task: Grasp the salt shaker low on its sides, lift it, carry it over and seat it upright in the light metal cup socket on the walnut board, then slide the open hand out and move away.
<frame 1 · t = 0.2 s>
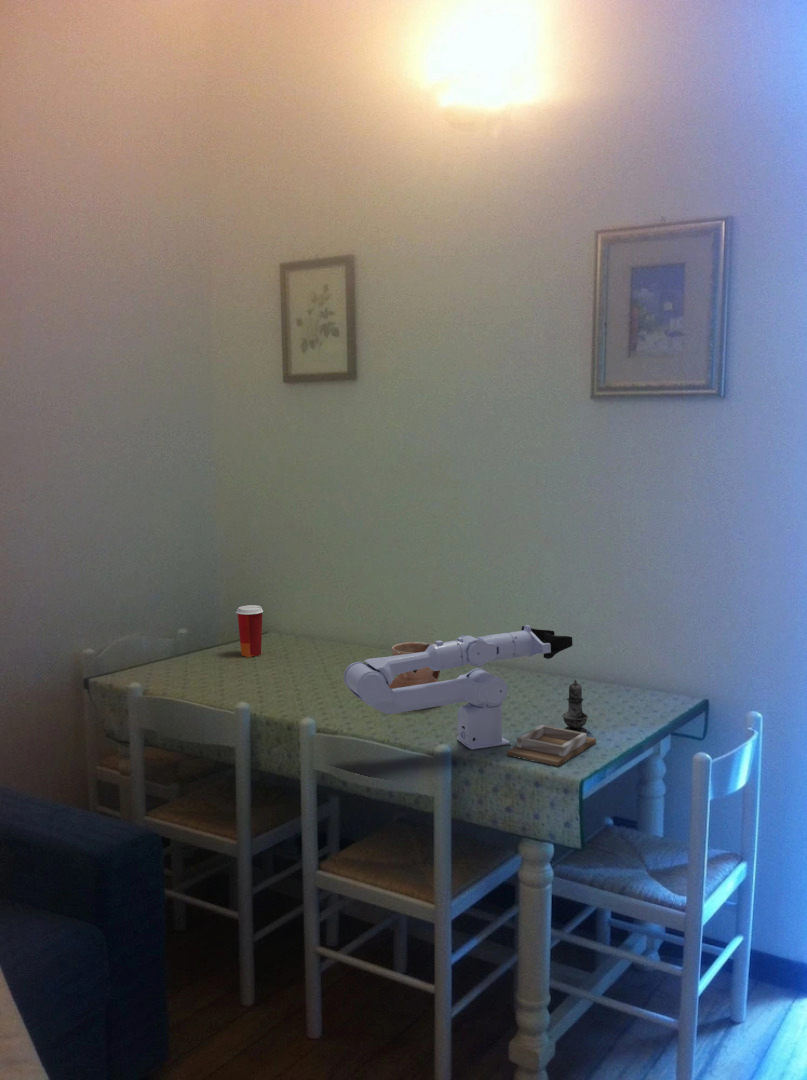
hand: (562, 638, 218), 21 cm above the table, tool horizontal, fingers open, 7 cm apart
ceramic jug: (417, 701, 246), on the table
salt shaker: (575, 731, 220), on the table
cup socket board: (552, 749, 208), on the table
coffee cup: (251, 655, 298), on the table
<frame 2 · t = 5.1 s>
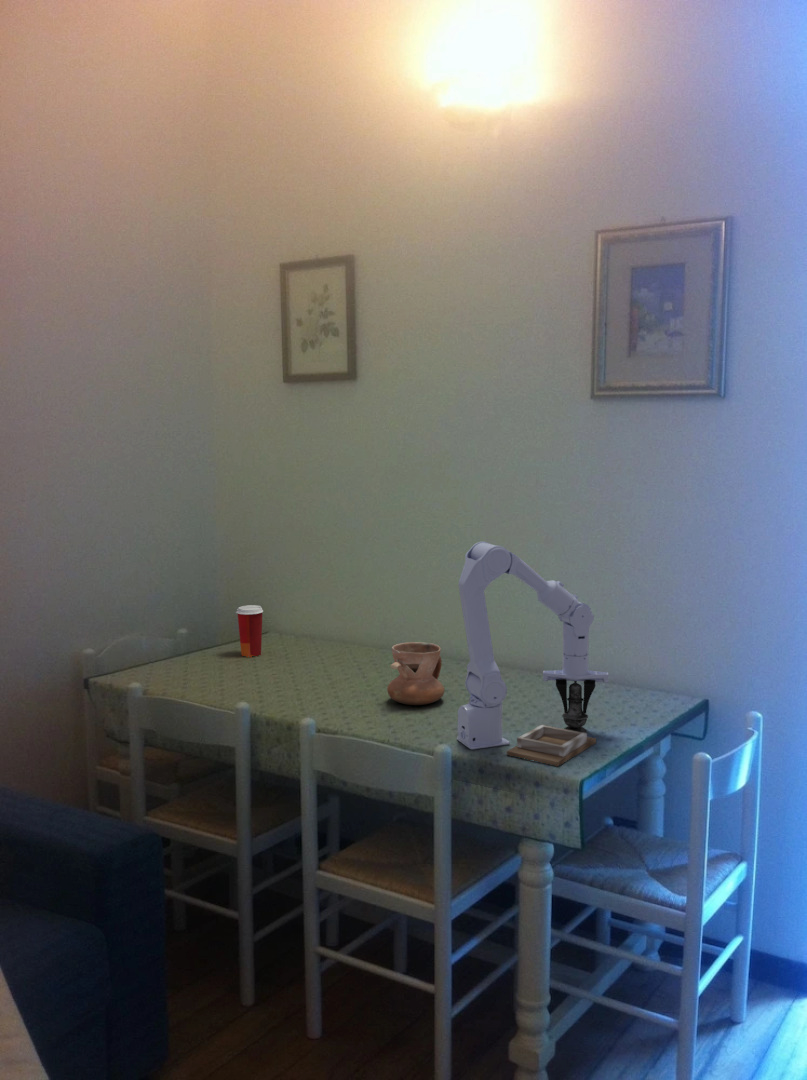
hand: (575, 711, 219), 4 cm above the table, tool pointing down, fingers closed on salt shaker, 3 cm apart
salt shaker: (575, 731, 220), on the table, touching gripper
everything else where it was.
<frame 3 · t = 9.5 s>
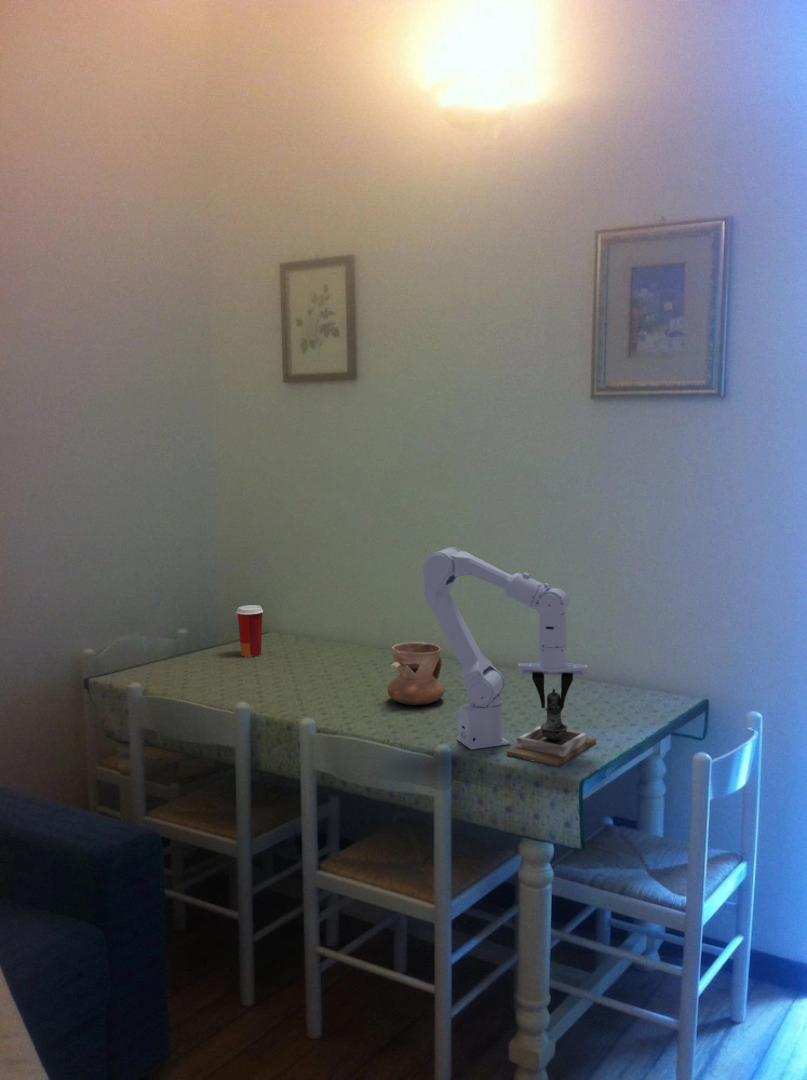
hand: (552, 707, 207), 9 cm above the table, tool pointing down, fingers closed on salt shaker, 3 cm apart
salt shaker: (554, 743, 209), point 1 cm above the table, touching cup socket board, gripper
everything else where it was.
when the fingers open (6 cm above the table, at t = 10.5 s): salt shaker stays where it is, resting on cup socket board.
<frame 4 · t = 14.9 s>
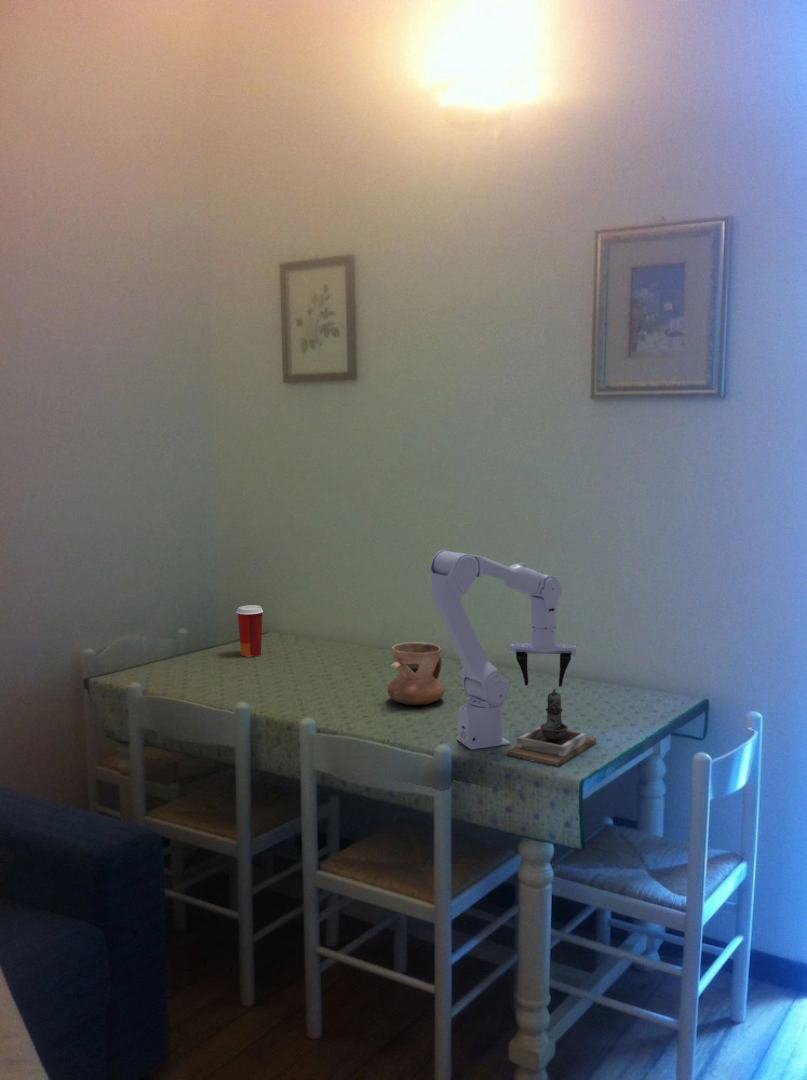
hand: (543, 684, 220), 10 cm above the table, tool pointing down, fingers open, 7 cm apart
salt shaker: (554, 743, 209), point 1 cm above the table, touching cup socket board
everything else where it was.
at the end: salt shaker 1.3 cm off-centre on the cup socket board, point 0.8 cm above the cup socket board's base; salt shaker tilted 0°; the gripper is holding nothing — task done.
